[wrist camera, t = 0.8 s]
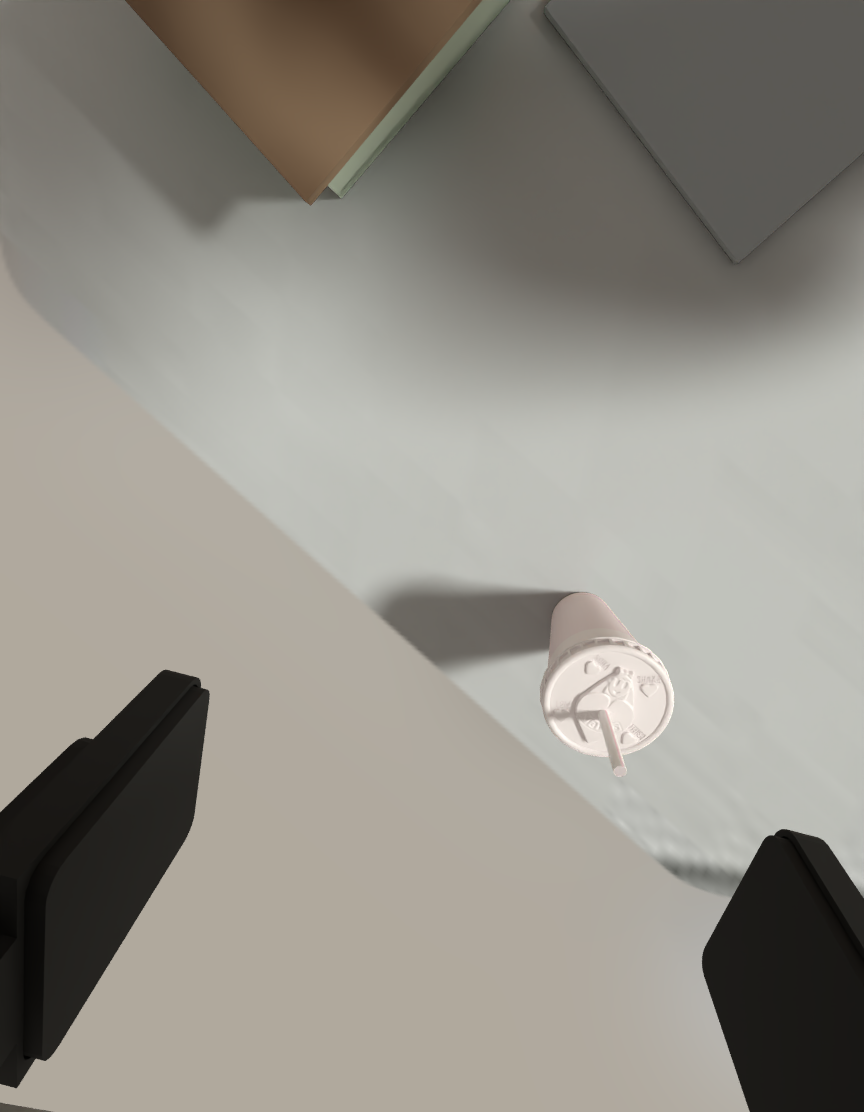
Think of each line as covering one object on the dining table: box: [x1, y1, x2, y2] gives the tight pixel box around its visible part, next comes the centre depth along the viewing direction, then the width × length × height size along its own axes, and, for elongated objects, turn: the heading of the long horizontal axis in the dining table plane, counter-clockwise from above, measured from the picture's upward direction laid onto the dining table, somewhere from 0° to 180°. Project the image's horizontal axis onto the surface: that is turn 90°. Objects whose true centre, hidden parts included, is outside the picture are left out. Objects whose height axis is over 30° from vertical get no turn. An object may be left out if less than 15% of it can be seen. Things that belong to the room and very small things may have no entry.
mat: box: [544, 0, 864, 264], centre depth 28 cm, size 15×15×1 cm
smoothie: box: [540, 592, 674, 777], centre depth 32 cm, size 6×6×14 cm
